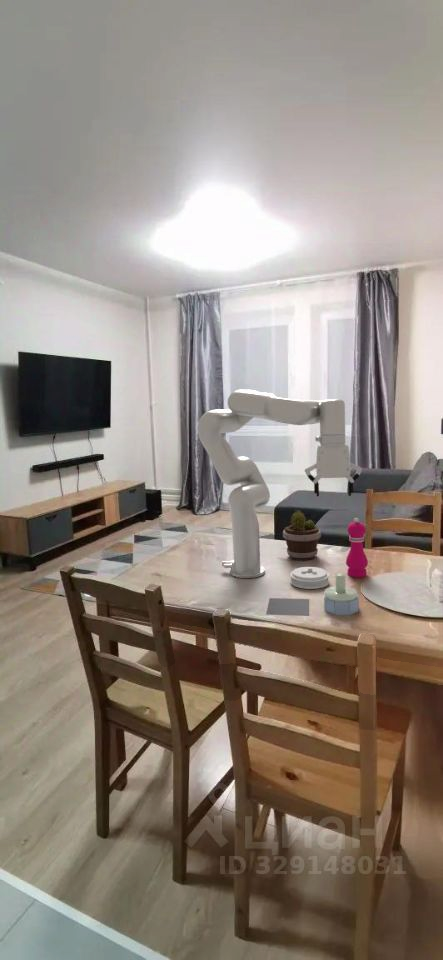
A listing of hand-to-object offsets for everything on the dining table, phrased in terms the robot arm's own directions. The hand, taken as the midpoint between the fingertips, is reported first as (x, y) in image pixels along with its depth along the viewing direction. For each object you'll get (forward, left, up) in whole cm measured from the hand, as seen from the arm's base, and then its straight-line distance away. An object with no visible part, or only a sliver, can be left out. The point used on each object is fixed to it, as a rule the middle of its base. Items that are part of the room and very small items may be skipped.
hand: (333, 495), depth 151 cm
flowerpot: (-11, +34, -31) cm, 47 cm away
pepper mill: (+8, +14, -31) cm, 34 cm away
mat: (-14, -16, -30) cm, 37 cm away
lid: (-8, +4, -31) cm, 32 cm away
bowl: (+1, -16, -30) cm, 34 cm away
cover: (+1, -16, -26) cm, 31 cm away
